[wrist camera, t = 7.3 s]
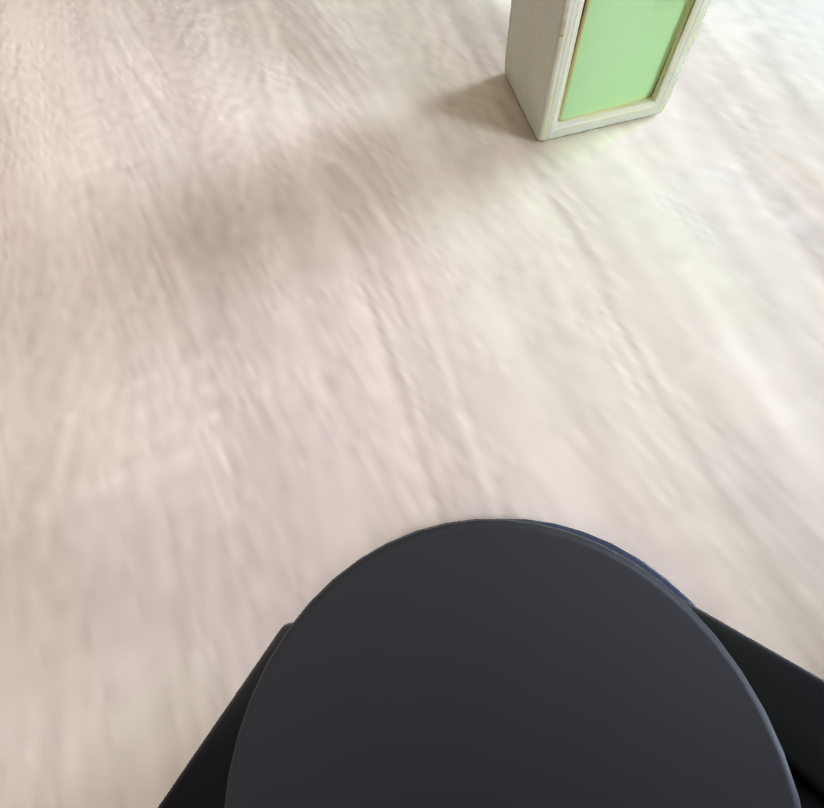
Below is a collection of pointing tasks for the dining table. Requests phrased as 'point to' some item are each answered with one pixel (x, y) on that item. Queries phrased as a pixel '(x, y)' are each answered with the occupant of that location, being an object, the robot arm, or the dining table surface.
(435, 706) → the capped red bottle
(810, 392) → the dining table surface
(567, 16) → the tall beige block
